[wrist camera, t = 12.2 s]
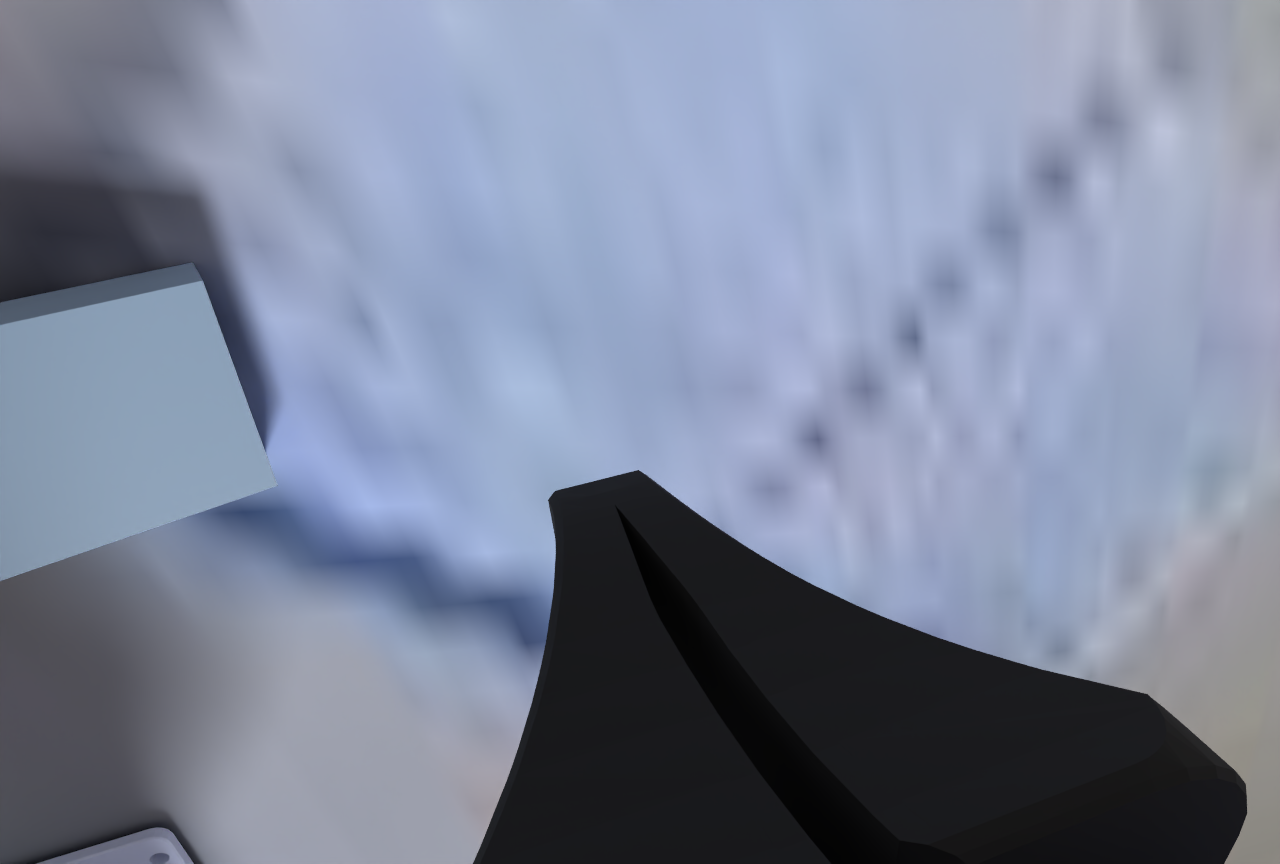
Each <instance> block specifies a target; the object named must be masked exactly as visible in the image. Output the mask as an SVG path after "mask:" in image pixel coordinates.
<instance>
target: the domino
mask: <svg viewBox="0 0 1280 864" xmlns="http://www.w3.org/2000/svg"><path fill="white" fill-rule="evenodd" d="M276 486H278V485H277V482H276V479H275V476H274V474H273V471H272V468H271V466H270V463H269V460H268V457H267V455H266V452H265V449H264V446H263V444H262V441H261V438H260V436H259V433H258V430H257V427H256V425H255V422H254V419H253V416H252V414H251V411H250V408H249V405H248V403H247V400H246V397H245V395H244V392H243V389H242V386H241V384H240V381H239V378H238V375H237V373H236V370H235V367H234V365H233V362H232V359H231V356H230V354H229V351H228V348H227V345H226V343H225V340H224V337H223V335H222V332H221V329H220V326H219V324H218V321H217V318H216V315H215V313H214V310H213V307H212V304H211V302H210V299H209V296H208V294H207V291H206V288H205V285H204V283H203V280H202V278H201V276H200V275H199V273H198V271H197V269H196V267H195V265H194V264H193V262H191V263H187V264H182V265H177V266H172V267H168V268H163V269H158V270H153V271H148V272H144V273H139V274H134V275H129V276H124V277H120V278H115V279H110V280H105V281H100V282H96V283H91V284H86V285H81V286H77V287H72V288H67V289H62V290H57V291H53V292H48V293H43V294H38V295H33V296H29V297H24V298H19V299H14V300H9V301H5V302H0V581H2V580H5V579H8V578H11V577H13V576H16V575H19V574H22V573H25V572H28V571H31V570H34V569H37V568H40V567H43V566H46V565H48V564H51V563H54V562H57V561H60V560H63V559H66V558H69V557H72V556H75V555H78V554H80V553H83V552H86V551H89V550H92V549H95V548H98V547H101V546H104V545H107V544H110V543H112V542H115V541H118V540H121V539H124V538H127V537H130V536H133V535H136V534H139V533H142V532H144V531H147V530H150V529H153V528H156V527H159V526H162V525H165V524H168V523H171V522H174V521H177V520H179V519H182V518H185V517H188V516H191V515H194V514H197V513H200V512H203V511H206V510H209V509H211V508H214V507H217V506H220V505H223V504H226V503H229V502H232V501H235V500H238V499H241V498H243V497H246V496H249V495H252V494H255V493H258V492H261V491H264V490H267V489H270V488H273V487H276Z"/></svg>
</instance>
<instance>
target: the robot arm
mask: <svg viewBox="0 0 1280 864" xmlns="http://www.w3.org/2000/svg"><path fill="white" fill-rule="evenodd" d="M548 501H549V507H550V512H551V517H552V523H553V528H554V533H555V539H556V561H555V578H554V591H553V600H552V607H551V613H550V620H549V627H548V633H547V640H546V645H545V650H544V655H543V660H542V664H541V669H540V673H539V677H538V681H537V685H536V689H535V693H534V697H533V701H532V705H531V708H530V711H529V715H528V718H527V721H526V724H525V728H524V731H523V734H522V738H521V741H520V744H519V747H518V750H517V753H516V756H515V759H514V762H513V765H512V768H511V771H510V774H509V776H508V779H507V782H506V784H505V787H504V789H503V792H502V794H501V797H500V799H499V802H498V804H497V807H496V809H495V812H494V814H493V817H492V819H491V822H490V824H489V827H488V829H487V832H486V834H485V837H484V839H483V842H482V844H481V847H480V849H479V851H478V853H477V856H476V858H475V860H474V863H473V864H1224V863H1225V861H1226V859H1227V857H1228V855H1229V853H1230V851H1231V849H1232V847H1233V846H1234V844H1235V842H1236V840H1237V838H1238V836H1239V834H1240V831H1241V828H1242V826H1243V823H1244V820H1245V818H1246V815H1247V795H1246V784H1245V783H1244V781H1243V780H1242V779H1241V777H1240V776H1239V775H1238V774H1237V772H1236V771H1235V770H1234V769H1233V768H1232V767H1230V766H1229V765H1228V764H1227V763H1226V762H1225V761H1224V760H1223V759H1221V758H1220V757H1219V756H1218V755H1217V754H1216V753H1215V752H1214V751H1212V750H1211V749H1210V748H1209V747H1208V746H1207V745H1206V744H1205V743H1203V742H1202V741H1201V740H1200V739H1199V738H1198V737H1197V736H1196V735H1195V734H1193V733H1192V732H1191V731H1190V730H1189V729H1188V728H1187V727H1185V726H1184V725H1183V724H1182V723H1181V722H1180V721H1179V720H1177V719H1176V718H1175V717H1174V716H1173V715H1172V714H1170V713H1169V712H1168V711H1167V710H1166V709H1165V708H1164V707H1162V706H1161V705H1160V704H1158V703H1157V702H1156V701H1155V700H1153V699H1152V698H1151V697H1150V696H1149V695H1148V694H1144V693H1140V692H1135V691H1131V690H1127V689H1122V688H1118V687H1114V686H1110V685H1105V684H1101V683H1097V682H1092V681H1088V680H1084V679H1080V678H1075V677H1071V676H1067V675H1062V674H1058V673H1054V672H1050V671H1045V670H1041V669H1038V668H1034V667H1030V666H1027V665H1023V664H1020V663H1017V662H1013V661H1010V660H1007V659H1003V658H1000V657H997V656H993V655H990V654H986V653H983V652H980V651H976V650H973V649H970V648H967V647H964V646H961V645H958V644H955V643H952V642H949V641H946V640H943V639H940V638H937V637H934V636H932V635H929V634H926V633H924V632H921V631H919V630H916V629H913V628H911V627H908V626H906V625H903V624H900V623H898V622H895V621H892V620H890V619H887V618H885V617H882V616H880V615H877V614H875V613H873V612H870V611H868V610H866V609H863V608H861V607H859V606H856V605H854V604H852V603H850V602H848V601H846V600H844V599H842V598H840V597H837V596H835V595H833V594H831V593H829V592H827V591H825V590H823V589H821V588H818V587H816V586H814V585H812V584H810V583H808V582H806V581H805V580H803V579H801V578H799V577H797V576H795V575H793V574H791V573H789V572H788V571H786V570H784V569H783V568H781V567H779V566H777V565H776V564H774V563H772V562H770V561H769V560H767V559H765V558H764V557H762V556H760V555H759V554H757V553H756V552H754V551H752V550H751V549H749V548H748V547H746V546H744V545H743V544H741V543H740V542H738V541H737V540H735V539H734V538H732V537H731V536H729V535H728V534H726V533H725V532H723V531H722V530H720V529H719V528H717V527H716V526H714V525H713V524H711V523H710V522H709V521H707V520H706V519H704V518H703V517H701V516H700V515H699V514H697V513H696V512H695V511H693V510H692V509H690V508H689V507H688V506H686V505H685V504H684V503H682V502H681V501H680V500H678V499H677V498H676V497H674V496H673V495H672V494H670V493H669V492H668V491H666V490H665V489H664V488H662V487H661V486H660V485H658V484H657V483H656V482H655V481H653V480H652V479H651V478H649V477H648V476H647V475H645V474H644V473H642V472H641V471H639V470H637V471H633V472H629V473H625V474H621V475H617V476H613V477H609V478H605V479H601V480H597V481H593V482H589V483H585V484H581V485H577V486H573V487H569V488H565V489H561V490H557V491H555V492H554V493H553V494H552V496H551V497H550V498H549V500H548ZM36 864H194V863H193V862H192V860H191V859H190V857H189V856H188V854H187V853H186V851H185V850H184V848H183V847H182V846H181V844H180V843H179V841H178V840H177V838H176V837H175V835H174V834H173V833H172V832H171V831H170V830H168V829H165V828H160V827H155V828H150V829H147V830H143V831H140V832H137V833H134V834H130V835H127V836H124V837H121V838H117V839H114V840H111V841H108V842H104V843H101V844H98V845H95V846H91V847H88V848H85V849H82V850H78V851H75V852H72V853H69V854H66V855H62V856H59V857H56V858H53V859H49V860H46V861H43V862H40V863H36Z"/></svg>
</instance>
